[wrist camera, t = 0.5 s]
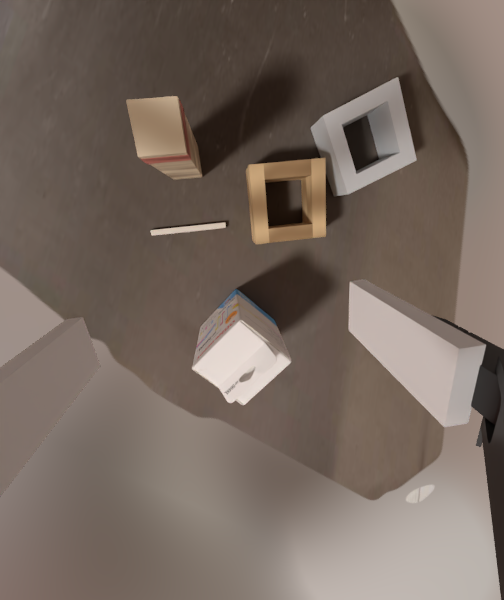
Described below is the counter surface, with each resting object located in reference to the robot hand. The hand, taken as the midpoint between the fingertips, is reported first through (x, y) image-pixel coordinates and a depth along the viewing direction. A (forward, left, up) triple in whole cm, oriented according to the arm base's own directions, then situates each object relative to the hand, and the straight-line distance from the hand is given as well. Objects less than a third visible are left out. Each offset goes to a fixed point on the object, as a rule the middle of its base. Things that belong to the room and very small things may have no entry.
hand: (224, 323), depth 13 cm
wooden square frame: (-6, +9, -26) cm, 28 cm away
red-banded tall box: (-12, -3, -26) cm, 28 cm away
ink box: (+11, +1, -26) cm, 28 cm away
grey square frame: (-12, +19, -26) cm, 34 cm away
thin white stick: (-4, -4, -26) cm, 26 cm away
